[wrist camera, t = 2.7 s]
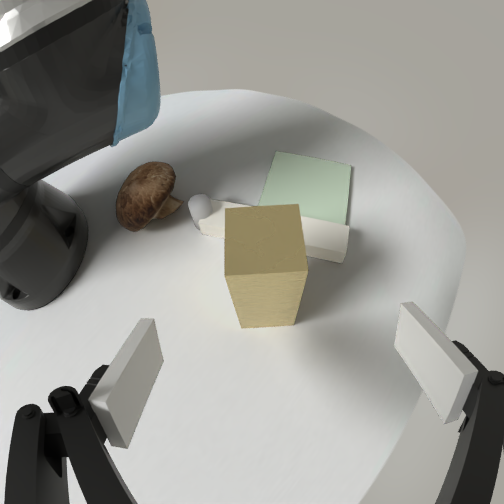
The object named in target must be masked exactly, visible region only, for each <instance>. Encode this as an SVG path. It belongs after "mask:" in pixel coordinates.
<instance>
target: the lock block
mask: <svg viewBox="0 0 504 504" xmlns="http://www.w3.org/2000/svg"><path fill="white" fill-rule="evenodd" d="M307 274H308V264H307V257H306V249H305V242H304V235H303V229H302V222H301V215H300V209H299V204H286V205H267V206H251V207H236V208H225V279H226V282H227V285H228V288H229V291H230V295H231V298H232V301H233V304H234V307H235V310H236V313H237V316H238V319H239V322H240V326H241V328H258V327H275V326H290V325H294V323H295V319H296V315H297V312H298V308H299V304H300V301H301V297H302V293H303V290H304V286H305V282H306V278H307Z"/></svg>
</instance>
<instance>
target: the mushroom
mask: <svg viewBox="0 0 504 504" xmlns="http://www.w3.org/2000/svg"><path fill="white" fill-rule="evenodd" d="M175 178H176V176H175V173H174V171H173V168H172V167H171V166H170V165H169V164H166V163H163V162H148V163H145V164H143V165H141V166H139V167H137V168H136V169H135V170H134V171H132V172H131V173H130V175H129V176H128V177H127V179H126V180H125V182H124V183H123V185H122V187H121V189H120V191H119V193H118V196H117V200H116V215H117V219H118V221H119V223H120V224H121V225H122V226H123V227H125V228H126V229H128V230H130V231H133V232H135V231H139V230H140V229H142V228H144V227H145V226H146V225H147V224H148V223H149V222H150V221H151V220H152V219H154V218H157V219H162V218H164V217H166V216H168V215H169V214H171V213H173V212H174V211H175V210H177V209H178V208H179V207H180V206H181V205H182V204H183V201H181V200H178V199H176V198H174V197H172V196H171V195H170V193H171V192H172V190H173V188H174V183H175Z"/></svg>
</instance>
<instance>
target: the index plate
mask: <svg viewBox="0 0 504 504" xmlns="http://www.w3.org/2000/svg"><path fill="white" fill-rule="evenodd" d="M350 173H351V165H348V164H343V163H338V162H333V161H329V160H324V159H318V158H313V157H308V156H302V155H297V154H291V153H285V152H279V151H276V152H275V155H274V158H273V161H272V165H271V168H270V171H269V174H268V177H267V180H266V183H265V186H264V189H263V192H262V195H261V198H260V202H259V205H258V206H267V205H286V204H299V209H300V215H301V216H304V217H309V218H314V219H319V220H324V221H329V222H333V223H338V224H343V225H345V222H346V213H347V204H348V195H349V184H350Z"/></svg>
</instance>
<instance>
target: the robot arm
mask: <svg viewBox="0 0 504 504" xmlns="http://www.w3.org/2000/svg"><path fill="white" fill-rule="evenodd" d="M159 110H160V82H159V71H158V62H157V54H156V47H155V41H154V36H153V34H152V26H151V17H150V12H149V8H148V5H147V2H146V0H0V298H1V299H2V300H3V301H5V302H7V303H8V304H10V305H11V306H13V307H15V308H17V309H21V310H32V309H36V308H39V307H41V306H44V305H45V304H47V303H49V302H50V301H52V300H53V299H54V298H55V297H57V296H58V295H59V294H60V293H61V292H62V291H63V290H64V289H65V287H66V286H67V285H68V284H69V282H70V281H71V279H72V278H73V276H74V275H75V273H76V271H77V269H78V268H79V266H80V263H81V261H82V258H83V256H84V253H85V249H86V245H87V238H88V227H87V221H86V218H85V216H84V214H83V212H82V211H81V209H80V208H79V207H78V205H77V204H76V203H75V201H74V200H73V199H72V198H71V197H70V196H68V195H67V194H65V193H64V192H62V191H60V190H58V189H57V188H55V187H53V186H51V185H50V184H48V183H46V182H45V181H43V180H41V179H43V178H45V177H46V176H48V175H50V174H52V173H54V172H56V171H57V170H59V169H61V168H63V167H65V166H67V165H69V164H71V163H73V162H75V161H77V160H79V159H81V158H83V157H85V156H87V155H89V154H91V153H93V152H96V151H98V150H100V149H102V148H104V147H106V146H109V145H110V146H111V147H113V146H116V145H117V144H118V143H119V141H121V140H123V139H125V138H127V137H129V136H131V135H133V134H136V133H138V132H140V131H142V130H144V129H146V128H148V127H149V126H151V125H152V124H153V122H154V121H155V119H156V118H157V116H158V113H159ZM394 347H395V348H396V350H397V351H398V353H399V354H400V356H401V357H402V359H403V360H404V362H405V363H406V365H407V366H408V368H409V369H410V371H411V372H412V374H413V375H414V377H415V378H416V380H417V381H418V383H419V385H420V386H421V388H422V389H423V391H424V392H425V394H426V396H427V397H428V399H429V400H430V402H431V403H432V405H433V407H434V408H435V410H436V411H437V413H438V415H439V416H440V418H441V419H442V421H443V423H444V424H446V423H449V422H452V421H455V420H458V418H459V416H460V414H461V412H462V410H463V411H464V412H465V414H466V417H465V419H464V421H463V423H462V425H461V427H460V429H459V431H458V432H460V436H459V439H458V443H457V446H456V450H455V452H454V455H453V458H452V461H451V465H450V467H449V470H448V473H447V475H446V478H445V481H444V484H443V486H442V488H441V491H440V493H439V496H438V498H437V500H436V503H435V504H490V502H491V498H492V494H493V490H494V486H495V482H496V478H497V473H498V468H499V462H500V457H501V452H502V445H503V449H504V374H502V373H501V372H498V371H488V370H487V369H486V368H485V367H484V366H483V365H482V364H481V363H480V361H479V360H478V359H477V358H476V357H474V355H473V354H472V353H471V352H469V350H468V349H467V348H466V347H465V346H464V345H463V344H461V343H459V342H457V341H451V340H450V339H449V338H448V337H447V336H446V335H445V334H444V333H443V332H442V331H441V330H440V329H439V328H438V327H437V326H436V325H435V324H434V323H433V322H432V321H431V320H430V319H429V318H428V317H427V316H426V314H425V313H424V312H423V311H422V310H421V309H420V308H419V307H418V306H417V305H415V304H414V303H413V302H407V303H401V306H400V313H399V319H398V326H397V332H396V338H395V343H394ZM163 362H164V360H163V356H162V352H161V348H160V344H159V339H158V335H157V330H156V326H155V321H154V319H140V320H139V322H138V323H137V325H136V326H135V328H134V329H133V331H132V332H131V334H130V335H129V337H128V338H127V340H126V341H125V343H124V344H123V346H122V347H121V349H120V350H119V352H118V353H117V355H116V356H115V358H114V359H113V361H112V363H111V364H110V365H102V366H101V367H99V368H98V369H97V370H95V371H94V373H93V374H92V376H91V377H90V378H91V379H89V380H88V382H87V384H86V385H85V386H84V388H83V389H82V391H81V392H80V394H78V392H77V391H76V389H75V388H73V387H71V386H63V387H59V388H57V389H55V390H53V391H52V392H51V393H50V395H49V396H48V402H49V404H50V406H51V407H52V409H53V411H54V413H43V412H42V410H41V409H40V407H39V406H37V405H35V404H28V405H25V406H23V407H21V408H20V409H19V410H18V411H17V413H16V416H15V421H14V427H13V432H12V438H11V444H10V450H9V458H8V466H7V475H6V486H5V502H4V504H70V503H69V493H68V480H67V461H66V457H69V459H70V462H71V465H72V467H73V470H74V473H75V475H76V478H77V480H78V483H79V485H80V488H81V490H82V493H83V495H84V497H85V500H86V502H87V504H137V502H136V501H135V499H134V497H133V496H132V494H131V492H130V491H129V489H128V487H127V486H126V484H125V482H124V480H123V479H122V477H121V475H120V473H119V472H118V470H117V468H116V466H115V464H114V462H113V460H112V459H111V457H110V455H109V453H108V451H107V449H106V447H105V445H104V443H105V441H106V438H108V440H109V442H110V444H111V446H115V447H120V448H126V449H128V447H129V444H130V442H131V439H132V437H133V434H134V432H135V429H136V427H137V424H138V422H139V419H140V417H141V414H142V412H143V409H144V407H145V405H146V402H147V400H148V397H149V395H150V392H151V390H152V388H153V385H154V383H155V380H156V378H157V376H158V373H159V371H160V369H161V366H162V364H163Z"/></svg>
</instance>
